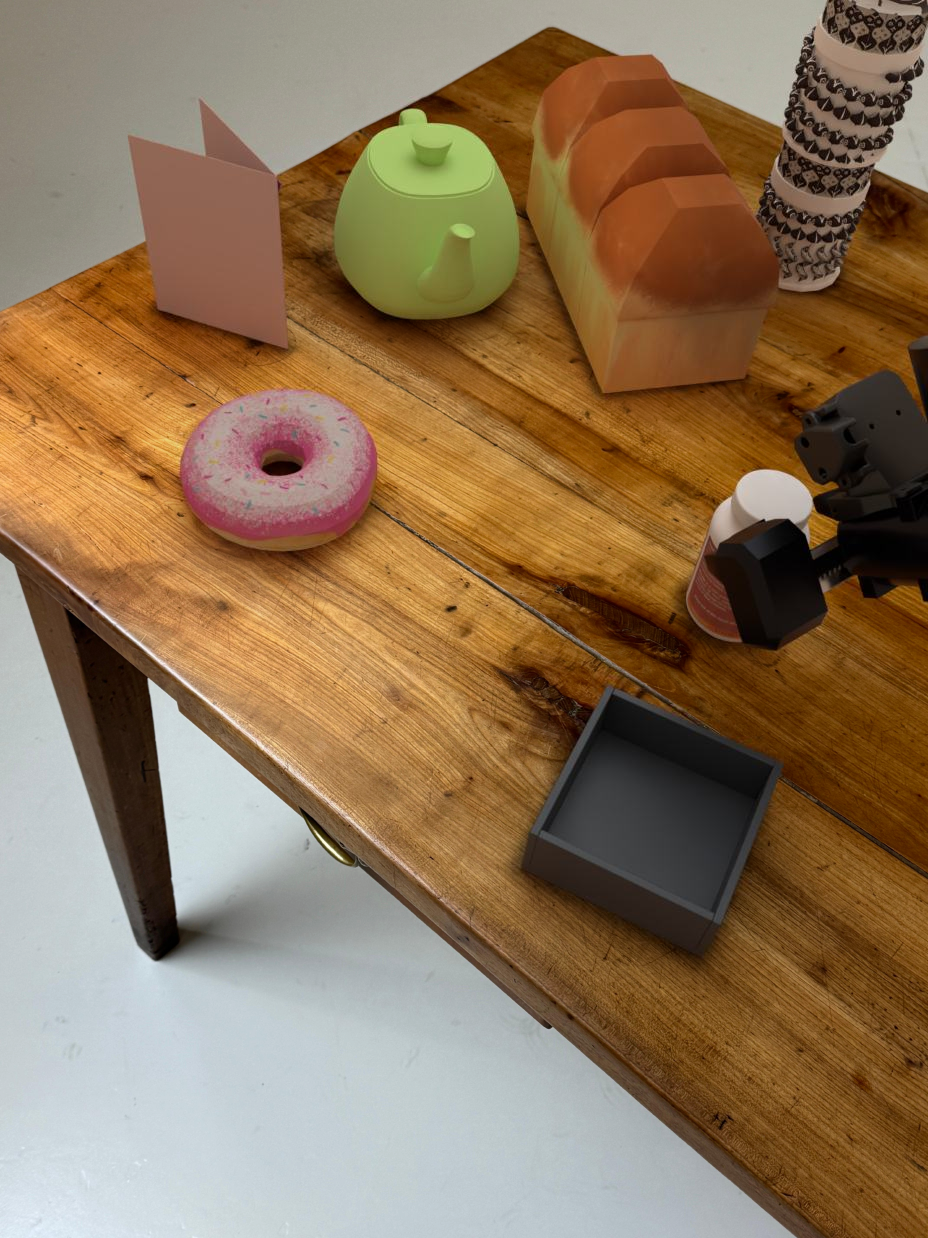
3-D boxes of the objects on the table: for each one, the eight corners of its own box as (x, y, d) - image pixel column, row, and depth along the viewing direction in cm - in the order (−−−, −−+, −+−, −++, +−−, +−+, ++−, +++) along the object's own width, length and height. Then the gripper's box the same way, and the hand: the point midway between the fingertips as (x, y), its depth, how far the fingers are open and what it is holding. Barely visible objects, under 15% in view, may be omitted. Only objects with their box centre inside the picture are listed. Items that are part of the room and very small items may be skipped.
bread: (750, 381, 93) (806, 219, 81) (600, 397, 91) (635, 232, 79) (652, 197, 108) (688, 36, 96) (521, 207, 105) (540, 43, 94)
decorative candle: (831, 231, 106) (939, -63, 86) (854, 296, 101) (975, -1, 81) (732, 226, 106) (817, -70, 86) (750, 292, 100) (845, -9, 80)
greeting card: (298, 345, 92) (288, 172, 80) (212, 377, 89) (189, 203, 77) (229, 266, 98) (210, 93, 86) (146, 294, 95) (114, 119, 83)
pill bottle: (778, 650, 77) (832, 541, 69) (685, 641, 77) (727, 530, 68) (771, 577, 81) (820, 464, 72) (682, 568, 81) (721, 454, 72)
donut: (193, 578, 78) (184, 528, 74) (177, 436, 85) (167, 384, 81) (394, 552, 80) (395, 502, 76) (360, 417, 88) (360, 365, 84)
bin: (763, 801, 71) (784, 763, 67) (701, 958, 64) (720, 925, 61) (595, 724, 73) (607, 684, 69) (520, 868, 67) (529, 832, 63)
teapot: (547, 368, 93) (570, 224, 82) (358, 385, 90) (357, 238, 80) (486, 203, 105) (500, 60, 95) (319, 214, 103) (314, 68, 92)
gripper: (1054, 316, 60) (833, 357, 74) (794, 447, 53) (604, 465, 67) (1101, 517, 63) (880, 520, 77) (859, 668, 56) (663, 641, 70)
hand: (763, 532), depth 73 cm, fingers open, 9 cm apart
